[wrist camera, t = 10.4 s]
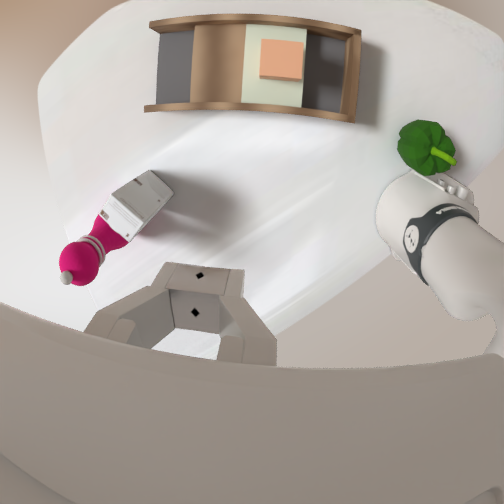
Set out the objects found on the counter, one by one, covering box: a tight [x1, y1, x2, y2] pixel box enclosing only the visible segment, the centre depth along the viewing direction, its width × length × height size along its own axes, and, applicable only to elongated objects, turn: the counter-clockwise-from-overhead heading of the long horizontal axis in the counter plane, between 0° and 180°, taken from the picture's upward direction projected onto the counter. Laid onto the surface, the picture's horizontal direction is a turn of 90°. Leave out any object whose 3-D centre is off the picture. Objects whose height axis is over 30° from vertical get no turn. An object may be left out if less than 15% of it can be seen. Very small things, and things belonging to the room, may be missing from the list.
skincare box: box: [99, 170, 174, 242], centre depth 37 cm, size 6×4×12 cm
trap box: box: [144, 14, 361, 123], centre depth 30 cm, size 28×14×5 cm, turn 87°
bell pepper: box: [397, 120, 457, 176], centre depth 31 cm, size 8×8×10 cm
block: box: [259, 39, 304, 82], centre depth 27 cm, size 5×5×4 cm
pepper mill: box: [59, 214, 129, 286], centre depth 36 cm, size 7×7×20 cm
